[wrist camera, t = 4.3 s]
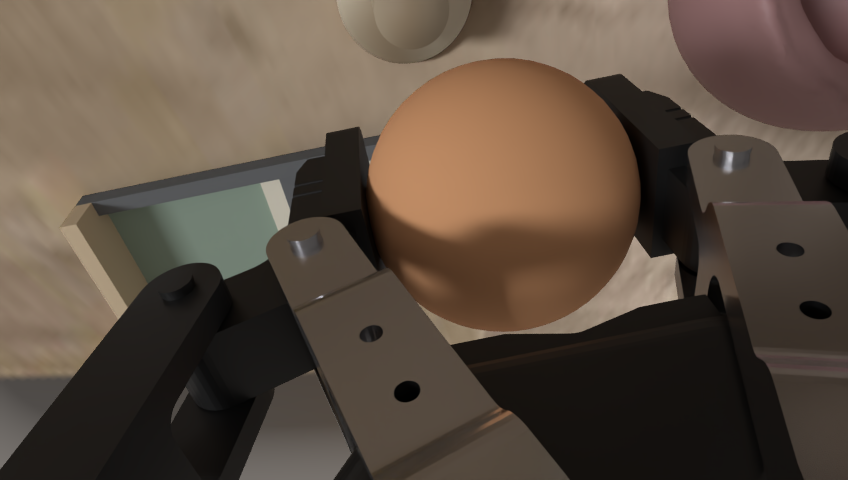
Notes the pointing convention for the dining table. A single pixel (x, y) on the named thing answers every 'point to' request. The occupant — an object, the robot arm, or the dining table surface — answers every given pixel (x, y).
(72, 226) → the lane
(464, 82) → the ball
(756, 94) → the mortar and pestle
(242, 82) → the dining table surface
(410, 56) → the beige brimmed cylinder
